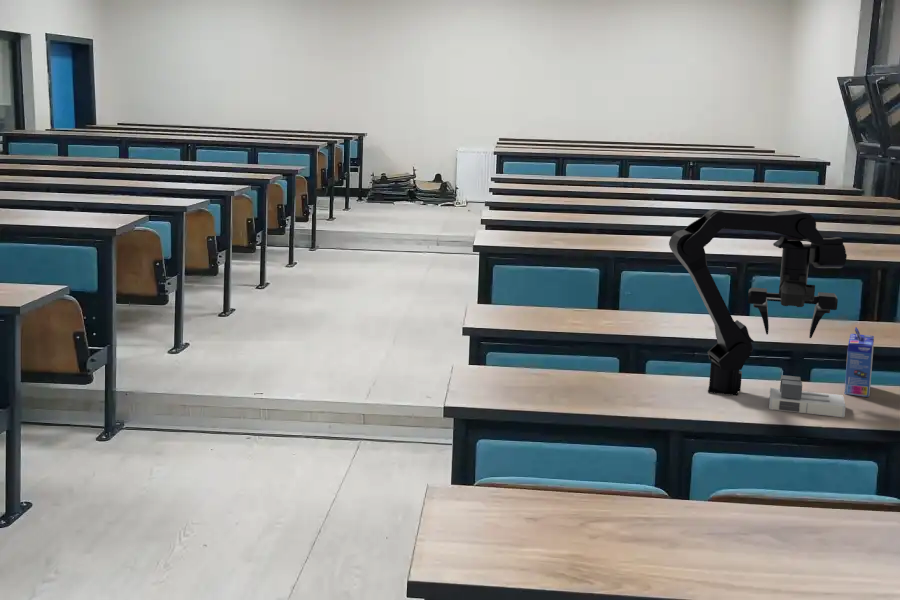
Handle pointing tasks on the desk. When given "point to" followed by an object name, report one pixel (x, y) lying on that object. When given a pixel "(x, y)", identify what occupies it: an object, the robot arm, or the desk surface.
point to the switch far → (790, 378)
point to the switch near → (791, 389)
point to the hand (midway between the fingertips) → (788, 335)
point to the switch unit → (808, 403)
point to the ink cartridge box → (859, 364)
